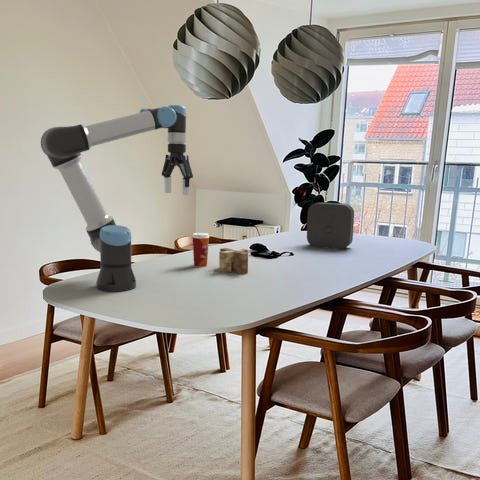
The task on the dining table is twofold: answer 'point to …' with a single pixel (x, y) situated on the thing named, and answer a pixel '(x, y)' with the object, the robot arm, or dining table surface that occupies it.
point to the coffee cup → (200, 249)
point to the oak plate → (227, 259)
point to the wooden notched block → (238, 261)
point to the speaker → (330, 225)
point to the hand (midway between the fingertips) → (176, 193)
